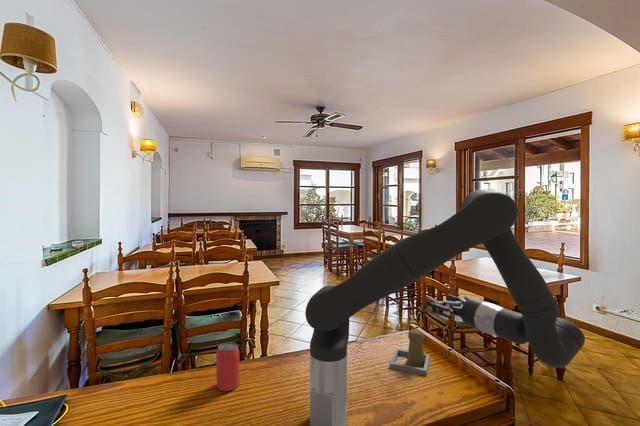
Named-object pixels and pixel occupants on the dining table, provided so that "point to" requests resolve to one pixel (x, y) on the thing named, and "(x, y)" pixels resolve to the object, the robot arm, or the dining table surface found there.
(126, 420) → the dining table surface
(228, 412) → the dining table surface
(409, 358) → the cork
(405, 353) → the gray square frame
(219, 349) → the beer can
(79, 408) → the dining table surface
